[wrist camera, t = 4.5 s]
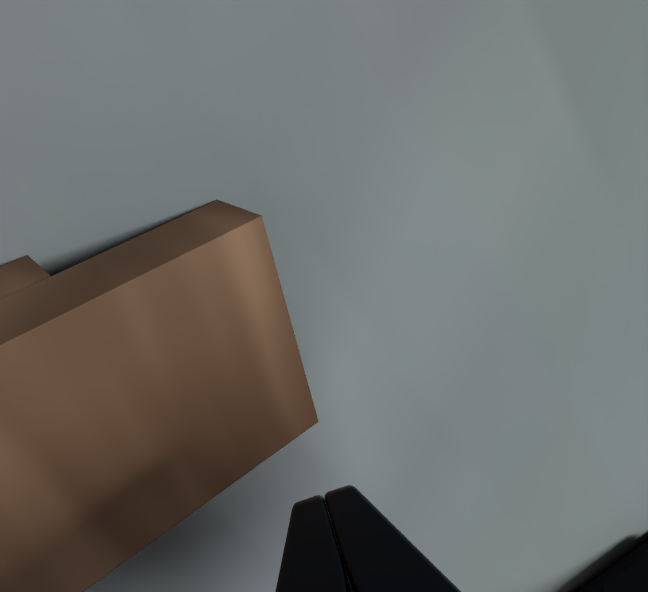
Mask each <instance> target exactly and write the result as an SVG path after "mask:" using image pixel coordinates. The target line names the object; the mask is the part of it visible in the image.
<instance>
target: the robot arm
mask: <svg viewBox="0 0 648 592" xmlns="http://www.w3.org/2000/svg"><path fill="white" fill-rule="evenodd" d="M324 498H325V500H324ZM324 498H323V497H322V496H319V495H318V496H314V497H311V498H308V499H305V500H302V501H299V502H297V503H295V504H294V506H293V508H292V512H291V517H290V522H289V527H288V532H287V537H286V542H285V547H284V552H283V557H282V562H281V567H280V572H279V577H278V582H277V587H276V592H461V591H460V590H459V589H458V588H457V587H456V586H455V585H454V584H453V583H452V582H451V581H450V580H449V579H448V578H447V577H446V576H445V575H444V574H443V573H441V572H440V571H439V570H438V569H437V568H436V567H435V566H434V565H433V564H432V563H431V562H430V561H429V560H428V559H427V558H426V557H425V556H424V555H423V554H422V553H421V552H420V551H419V550H418V549H417V548H416V547H415V546H414V545H413V544H412V543H411V542H410V541H409V540H408V539H407V538H406V537H405V536H404V535H403V534H402V533H401V532H400V531H399V530H398V529H397V528H396V527H395V526H394V525H393V524H392V523H391V522H390V521H389V520H388V519H387V518H386V517H385V516H384V515H383V514H382V513H381V512H380V511H379V510H378V509H377V508H376V507H375V506H374V505H373V504H372V503H371V502H370V501H369V500H368V499H367V498H366V497H365V496H363V495H362V494H361V493H360V492H359V491H358V490H357V489H356V488H355V487H353V486H351V485H348V486H345V487H341V488H338V489H335V490H332V491H329V492H327V493H326V494H325V497H324ZM325 502H326V504H325ZM326 506H327V507H326ZM327 509H328V510H327ZM328 512H329V514H328ZM329 516H330V517H329ZM330 519H331V520H330ZM332 526H333V527H332ZM333 529H334V530H333ZM335 536H336V537H335ZM336 539H337V540H336ZM338 546H339V547H338ZM341 556H342V557H341ZM344 566H345V567H344ZM347 576H348V577H347ZM349 583H350V584H349ZM350 586H351V587H350ZM578 592H648V541H646V542H645V543H644V544H642V545H641V546H639V547H638V548H637V549H635V550H634V551H633V552H631V553H630V554H629V555H627V556H626V557H624V558H623V559H622V560H620V561H619V562H618V563H616V564H615V565H614V566H612V567H611V568H609V569H608V570H607V571H605V572H604V573H603V574H601V575H600V576H599V577H597V578H596V579H594V580H593V581H592V582H590V583H589V584H588V585H586V586H585V587H584V588H582V589H581V590H579V591H578Z"/></svg>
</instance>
